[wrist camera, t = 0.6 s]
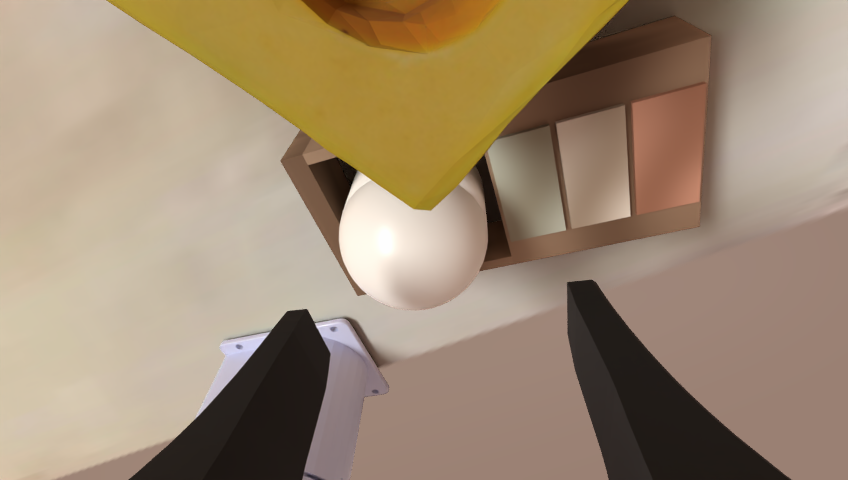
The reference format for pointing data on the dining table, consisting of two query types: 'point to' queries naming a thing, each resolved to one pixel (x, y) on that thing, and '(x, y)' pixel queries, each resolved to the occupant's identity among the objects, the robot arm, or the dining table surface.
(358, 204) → the dome button
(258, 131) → the dining table surface
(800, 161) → the dining table surface
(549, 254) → the brown shallow box
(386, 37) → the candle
